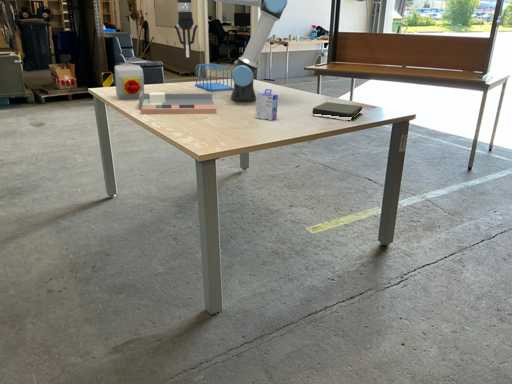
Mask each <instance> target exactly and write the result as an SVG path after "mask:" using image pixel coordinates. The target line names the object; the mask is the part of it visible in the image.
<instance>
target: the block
mask: <svg viewBox="0 0 512 384" xmlns="http://www.w3.org/2000/svg"><path fill="white" fill-rule="evenodd" d="M148 94H149V97H150V103H165V94H166V92H164V91H163V92H162V91H157V92H155V91H150V92H149V93H148Z"/></svg>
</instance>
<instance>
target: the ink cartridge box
mask: <svg viewBox="0 0 512 384" xmlns="http://www.w3.org/2000/svg"><path fill="white" fill-rule="evenodd" d="M272 91H273V90H272V89H271V88H270V89H269V88H265V90H264V92H262V93H261V92H260V93H255V95H256V100H255V118H256V119H259V118H261V119H260V120H265V119H268V120H267V121H273V119H275V120H277V119H278V101H279V100H278V99H279V95H278V94H273V93H272ZM276 118H277V119H276Z"/></svg>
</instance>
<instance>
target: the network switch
mask: <svg viewBox="0 0 512 384" xmlns="http://www.w3.org/2000/svg"><path fill="white" fill-rule="evenodd" d="M361 110H362V111H363V106H362V105H355V104H347V103H337V102H329V101H326V102H325V101H324V102H323V103H321V104H319V105H316V106H315V107H313V108H312V115H313V114H321V115H331V116H339V117H353V116H356V115H357V114H358V113H359V112H360V111H361Z"/></svg>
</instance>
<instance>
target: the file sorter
mask: <svg viewBox="0 0 512 384" xmlns="http://www.w3.org/2000/svg"><path fill="white" fill-rule="evenodd" d="M198 66H199V69H198ZM201 67H203V68H202V82H200V83H198V72H199V81H201ZM205 68H206V71H205ZM209 69H210V71H209V82H205V79H204V78H206V80H208V70H209ZM213 70H215V82H212V71H213ZM217 70H218V71H221V70H222V83H221V82H218V77H217V75H218V74H217V73H218V71H217ZM225 70H226V84H225ZM229 70H230V85H229ZM204 71H205V72H206V77H205V76H204V75H205V74H204V73H205V72H204ZM232 71H233V69H232V68H230V67H226V66H223V65H219V64H215V63H201V64H197V65H196V67H195V81H196V83H194V87H196V86H197V88H199V89H201V88H202V90H204V89H205V91H207V92H209V91H210V92H209V93H214V91H215V92H225V91H228V90H229V91H233V88H234V87H233V79H232Z"/></svg>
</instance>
